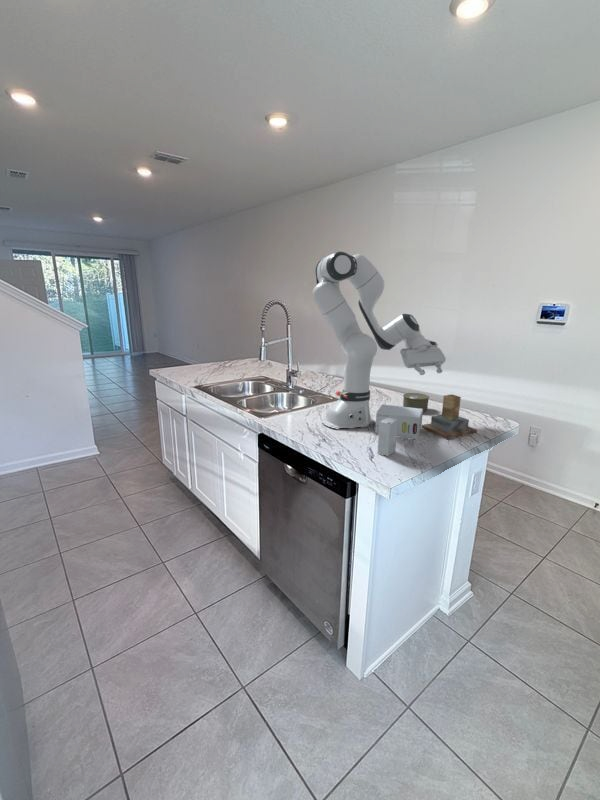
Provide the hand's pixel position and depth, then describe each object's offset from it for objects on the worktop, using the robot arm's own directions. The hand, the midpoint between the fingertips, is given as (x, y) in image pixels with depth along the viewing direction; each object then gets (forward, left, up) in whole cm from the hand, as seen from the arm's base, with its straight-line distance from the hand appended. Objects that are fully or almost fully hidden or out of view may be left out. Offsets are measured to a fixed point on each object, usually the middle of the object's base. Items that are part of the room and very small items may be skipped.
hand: (431, 373), depth 156 cm
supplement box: (-19, -4, -22) cm, 29 cm away
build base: (0, -12, -22) cm, 25 cm away
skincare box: (-37, -20, -22) cm, 48 cm away
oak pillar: (0, -12, -16) cm, 20 cm away
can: (+9, +18, -22) cm, 30 cm away
